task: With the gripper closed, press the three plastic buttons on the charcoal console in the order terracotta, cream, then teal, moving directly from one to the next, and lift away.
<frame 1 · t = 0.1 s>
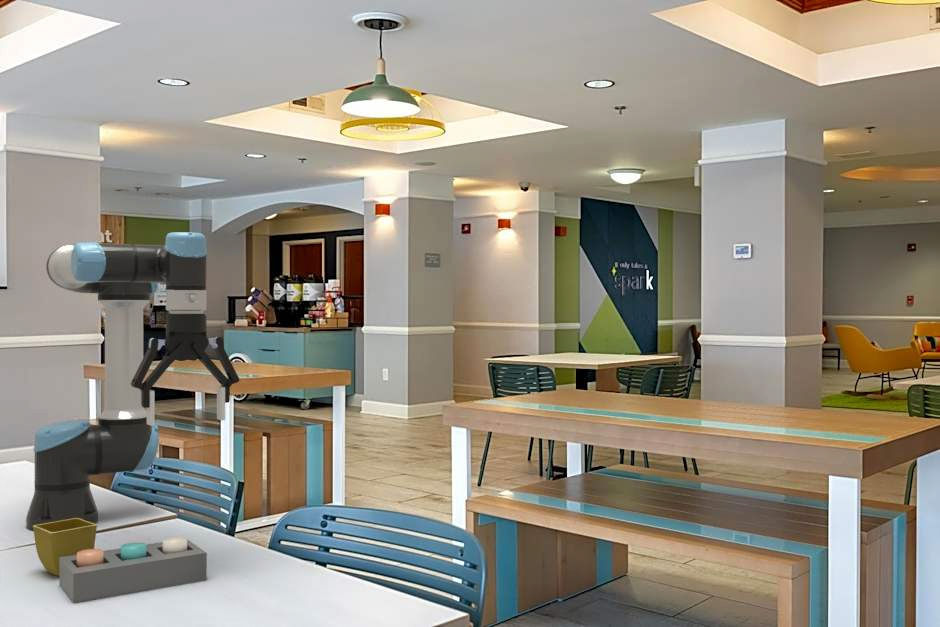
hand: (186, 422, 176), 28 cm above the table, fingers open, 13 cm apart
cream button: (174, 548, 170), point 5 cm above the table, slide at 0.0 cm
teal button: (133, 554, 166), point 5 cm above the table, slide at 0.0 cm
console: (133, 582, 166), on the table
terracotta button: (90, 561, 162), point 5 cm above the table, slide at 0.0 cm
flower pot: (65, 572, 173), on the table
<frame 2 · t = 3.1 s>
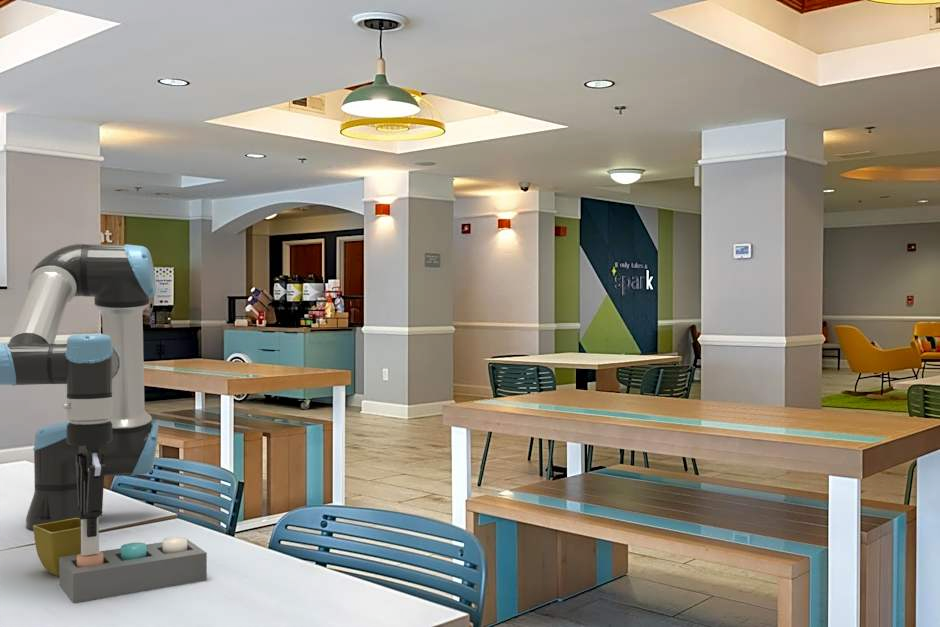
hand: (90, 553, 162), 6 cm above the table, fingers closed
terracotta button: (90, 563, 162), point 5 cm above the table, slide at 0.5 cm, touching gripper
everything else where it was.
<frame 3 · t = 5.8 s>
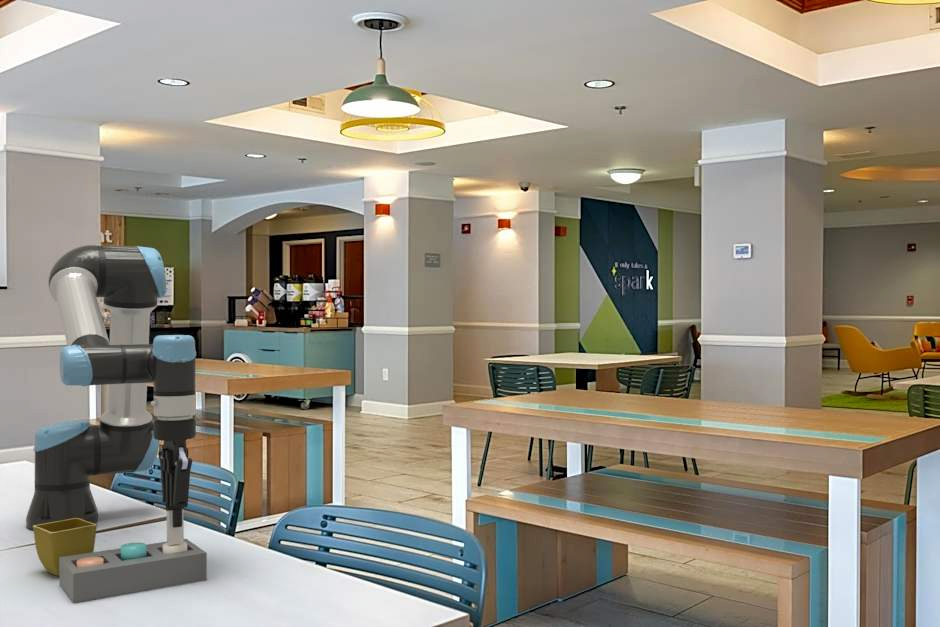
hand: (175, 543, 170), 6 cm above the table, fingers closed
cream button: (175, 552, 170), point 4 cm above the table, slide at 0.9 cm, touching gripper
terracotta button: (90, 569, 162), point 4 cm above the table, slide at 1.4 cm
everything else where it was.
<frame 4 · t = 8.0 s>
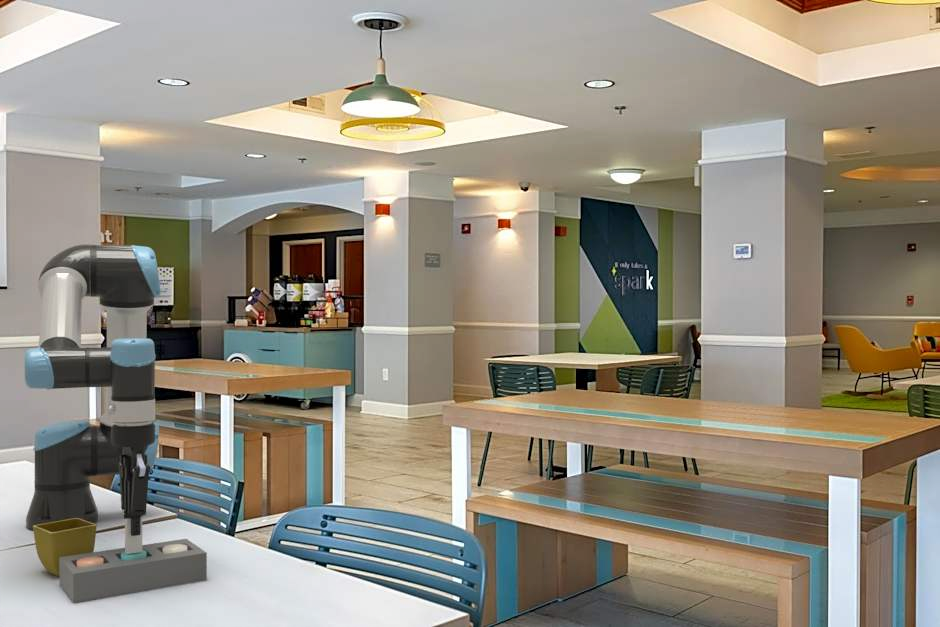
hand: (133, 551, 166), 6 cm above the table, fingers closed
cream button: (175, 555, 170), point 4 cm above the table, slide at 1.4 cm
teal button: (133, 561, 166), point 4 cm above the table, slide at 1.3 cm, touching gripper
everything else where it was.
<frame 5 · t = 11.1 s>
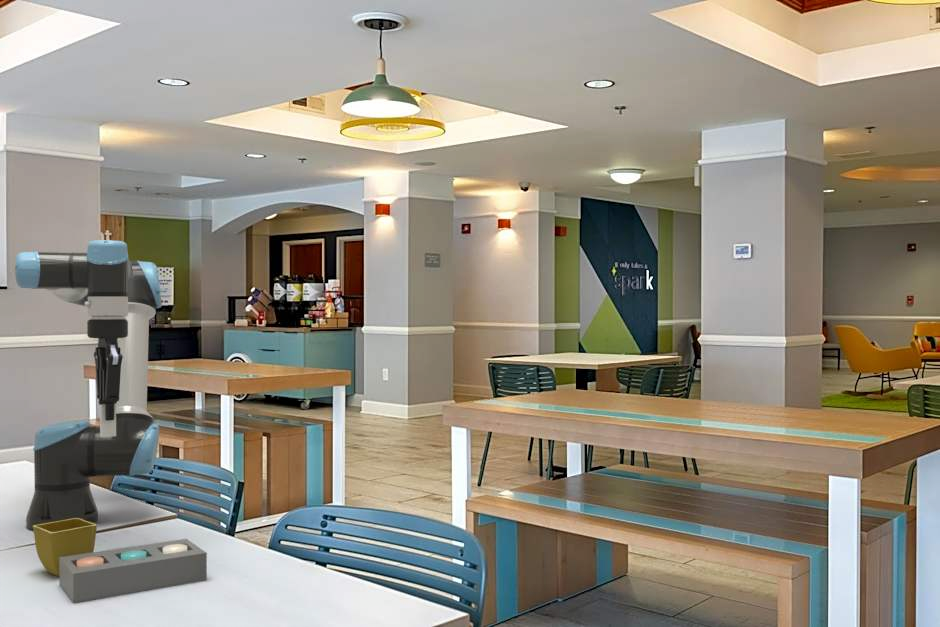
hand: (108, 436, 182), 24 cm above the table, fingers closed
teal button: (133, 562, 166), point 4 cm above the table, slide at 1.4 cm
everything else where it was.
at the end: terracotta button slide at 1.4 cm; cream button slide at 1.4 cm; teal button slide at 1.4 cm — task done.
